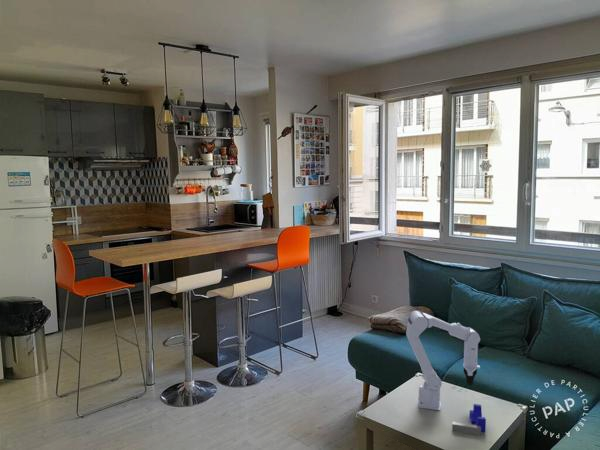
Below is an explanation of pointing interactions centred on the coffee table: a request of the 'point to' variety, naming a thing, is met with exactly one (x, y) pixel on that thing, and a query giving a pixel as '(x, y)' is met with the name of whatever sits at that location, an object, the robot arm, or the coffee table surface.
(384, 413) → the coffee table surface
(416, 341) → the robot arm
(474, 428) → the socket strip
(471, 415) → the cable clip
